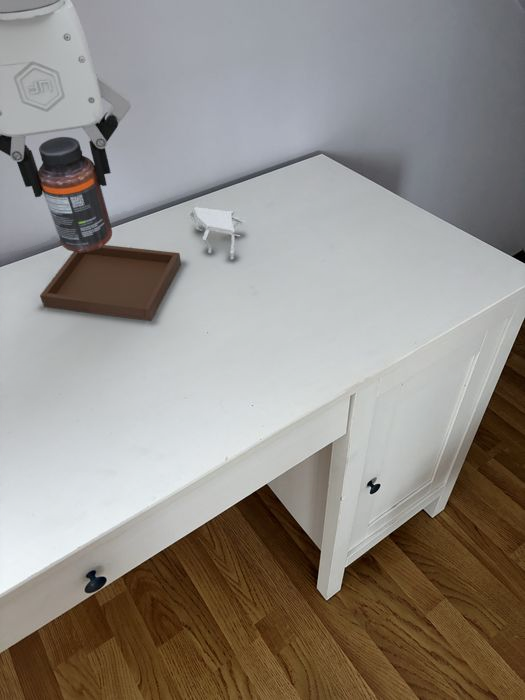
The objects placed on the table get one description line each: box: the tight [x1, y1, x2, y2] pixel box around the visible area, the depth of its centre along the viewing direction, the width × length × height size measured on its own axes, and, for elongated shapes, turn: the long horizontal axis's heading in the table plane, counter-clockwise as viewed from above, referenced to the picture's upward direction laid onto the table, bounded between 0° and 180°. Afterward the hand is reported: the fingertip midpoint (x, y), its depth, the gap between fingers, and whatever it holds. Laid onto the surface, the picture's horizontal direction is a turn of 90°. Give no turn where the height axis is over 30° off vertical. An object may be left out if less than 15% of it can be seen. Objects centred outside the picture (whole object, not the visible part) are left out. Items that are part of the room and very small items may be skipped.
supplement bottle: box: [38, 136, 113, 252], centre depth 61 cm, size 6×6×11 cm
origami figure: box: [189, 206, 245, 260], centre depth 92 cm, size 12×8×5 cm
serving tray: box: [39, 244, 182, 322], centre depth 85 cm, size 17×14×2 cm
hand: (70, 183), depth 60 cm, fingers closed on supplement bottle, 6 cm apart
